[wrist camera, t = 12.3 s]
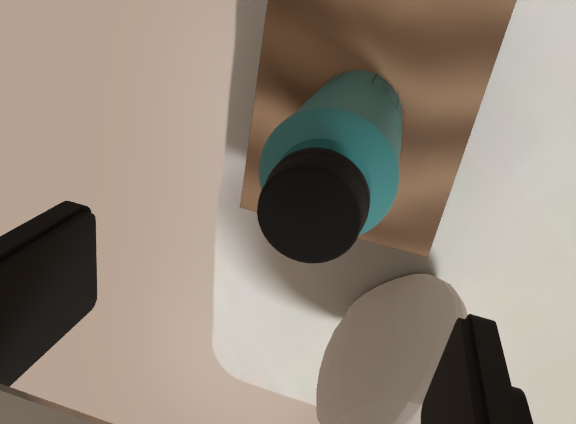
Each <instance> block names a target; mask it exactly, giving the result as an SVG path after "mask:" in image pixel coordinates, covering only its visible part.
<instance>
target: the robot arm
mask: <svg viewBox="0 0 576 424" xmlns="http://www.w3.org/2000/svg"><path fill="white" fill-rule="evenodd" d="M96 268H97V265H96V220H95V216H94V214H92V213H91V210H90V208H89V207H87V206H84V205H81V204H77V203H74V202H70V201H64V202H62V203H60V204H58V205H56V206H55V207H53V208H51V209H49V210H47V211H46V212H44V213H42V214H40V215H38V216H36V217H35V218H33V219H31V220H29V221H27V222H26V223H24V224H22V225H20V226H18V227H17V228H15V229H13V230H11V231H9V232H8V233H6V234H4V235H2V236H0V424H112V423H109V422H106V421H104V420H101V419H98V418H95V417H93V416H90V415H87V414H84V413H81V412H79V411H76V410H73V409H70V408H67V407H64V406H62V405H59V404H56V403H53V402H50V401H48V400H45V399H42V398H39V397H36V396H33V395H30V394H28V393H25V392H22V391H19V390H16V389H13V388H10V386H11V385H12V384H13V383H14V382H15V381H16V380H17V379H18V378H19V377H20V376H21V375H22V374H23V373H24V372H25V371H27V370H28V369H29V368H30V367H31V366H32V365H33V364H34V363H35V362H36V361H37V360H38V359H40V357H42V356H43V355H44V354H45V353H46V352H47V351H48V350H49V349H50V348H51V347H52V346H53V345H54V344H55V343H57V342H58V341H59V340H60V339H61V338H62V337H63V336H64V335H65V334H66V333H67V332H68V331H70V330H71V329H72V328H73V327H74V326H75V325H76V324H77V323H78V322H79V321H80V320H81V319H82V318H83V317H84V316H86V315H87V313H89V312H90V311H91V310H92V308H93V307H94V305H95V303H96V300H97V269H96ZM421 424H533V421H532V417H531V414H530V410H529V406H528V403H527V399H526V396H525V394H524V392H523V391H522V390H521V389H519V388H515V387H512V386H511V382H510V378H509V374H508V370H507V365H506V361H505V357H504V353H503V349H502V345H501V341H500V337H499V333H498V329H497V325H496V322H495V321H493V320H489V319H486V318H482V317H479V316H475V315H472V314H469V315H468V316H467V317H466V319H463V318H458V319H457V320H456V322H455V324H454V327H453V329H452V332H451V334H450V337H449V339H448V342H447V344H446V346H445V349H444V351H443V354H442V356H441V359H440V361H439V364H438V366H437V368H436V371H435V373H434V376H433V378H432V381H431V383H430V386H429V388H428V390H427V393H426V395H425V398H424V401H423V404H422V409H421Z"/></svg>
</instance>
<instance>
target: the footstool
mask: <svg viewBox="0 0 576 424" xmlns="http://www.w3.org/2000/svg"><path fill="white" fill-rule="evenodd" d="M515 3H516V0H268V5H267V12H266V19H265V27H264V34H263V41H262V49H261V56H260V64H259V71H258V78H257V86H256V93H255V100H254V108H253V115H252V123H251V130H250V137H249V145H248V152H247V159H246V167H245V174H244V182H243V189H242V196H241V204H240V208H244V209H248V210H251V211H255V212H257V205H258V199H259V196H260V193H261V186H260V181H259V162H260V156H261V153H262V150H263V147H264V145H265V143H266V141H267V139H268V138H269V136H270V134H271V133H272V132H273V131H274V129H275V128H276V127H277V126H278V125H279V124H280V123H282V122H283V121H284V120H285V119H287V118H288V117H290V116H291V115H293V113H295V112H296V111H297V110H298V109H300V108H301V106H303V104H304V103H305V102H306V101H307V100H308V99H309V98H311V97H312V96H313V95H314V94H315V93H316V92H317V91H318V90H319V89H321V88H322V87H323V86H324V85H325V84H326V82H328V80H327V79H329V80H331V79H332V78H333V77H332V78H331V76H334V75H335V74H336V75H335V76H337V75H339V73H340V71H341V73H344V72H345V71H346V70H347V69H348V70H347V71H346V72H348V71H354V70H363V71H369V72H372V73H375V74H377V73H378V75H379V76H381V77H383V78H384V79H386V80H387V81H388V82H389V83H390V84H391V85H392V86H393V85H394V86H393V88H394V89H396V92H397V94H398V91H399V95H398V96H399V98H400V101H401V105H402V103H403V105H404V106H403V105H402V110H404V113H405V114H404V113H402V128H404V129H402V131H404V132H402V135H401V150H404V151H401V150H400V151H401V152H400V154H401V155H400V157H399V185H398V191H397V194H396V198H395V201H394V203H393V205H392V207H391V209H390V210H389V212H388V213H387V215H386V216H385V217H384V218H383V219H382V221H381V222H379V223H378V224H377V225H376V226H375V227H374V228H372V229H371V230H369V231H368V232H366V233H364V234H362V235H360V236H358V238H357V239H361V240H365V241H369V242H373V243H376V244H380V245H384V246H388V247H391V248H395V249H399V250H403V251H407V252H410V253H414V254H418V255H422V256H426V257H428V255H429V252H430V249H431V246H432V243H433V240H434V237H435V234H436V231H437V229H438V226H439V223H440V220H441V217H442V214H443V211H444V208H445V205H446V203H447V200H448V197H449V194H450V191H451V188H452V185H453V182H454V179H455V177H456V174H457V171H458V168H459V165H460V162H461V159H462V156H463V154H464V151H465V148H466V145H467V142H468V139H469V136H470V133H471V130H472V128H473V125H474V122H475V119H476V116H477V113H478V110H479V107H480V104H481V102H482V99H483V96H484V93H485V90H486V87H487V84H488V81H489V78H490V76H491V73H492V70H493V67H494V64H495V61H496V58H497V55H498V52H499V50H500V47H501V44H502V41H503V38H504V35H505V32H506V29H507V26H508V24H509V21H510V18H511V15H512V12H513V9H514V6H515ZM341 73H340V74H341ZM381 74H382V75H381ZM335 76H334V77H335ZM388 79H389V80H388ZM325 81H326V82H325ZM322 83H324V84H323V85H322V87H321V86H320V85H321V84H322ZM306 97H307V98H306ZM401 97H402V98H401ZM402 101H403V102H402ZM297 107H298V108H297ZM295 110H296V111H295ZM403 116H405V125H404V120H403V119H404V117H403ZM403 141H404V142H403ZM402 145H403V146H402ZM402 147H403V149H402ZM401 160H402V161H401Z"/></svg>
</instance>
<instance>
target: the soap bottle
mask: <svg viewBox="0 0 576 424" xmlns="http://www.w3.org/2000/svg"><path fill="white" fill-rule="evenodd" d="M467 316H468V315H467V310H466V307H465V305H464V303H463V301H462V300H461V298H460V297H459V295H458V294H457V293H456V291H455V290H454V288H453V287H452V286H451V285H450V284H448V283H446V282H444V281H442V280H440V279H438V278H436V277H434V276H432V275H429V274H423V273H422V274H412V275H407V276H404V277H400V278H396V279H394V280H391V281H389V282H386V283H384V284H381V285H379V286H377V287H375V288H374V289H372V290H370V291H368V292H366V293H365V294H363V295H362V296H361V297H359V298H358V299H357V300H355V301H354V302H353V304H352V305H351V306H350V307H349V308H348V310H347V312H346V314H345V315H344V317H343V319H342V320H341V322H340V323H339V325H338V326H337V327H336V329H335V330H334V332H333V335H332V337H331V339H330V341H329V343H328V346H327V348H326V350H325V353H324V356H323V360H322V363H321V367H320V371H319V377H318V384H317V418H318V420H319V422H320V424H421V409H422V404H423V401H424V398H425V395H426V393H427V390H428V388H429V386H430V383H431V381H432V378H433V376H434V373H435V371H436V368H437V366H438V364H439V361H440V359H441V356H442V354H443V351H444V349H445V346H446V344H447V342H448V339H449V337H450V334H451V332H452V329H453V327H454V324H455V322H456V320H457V319H458V318H463V319H466V317H467Z"/></svg>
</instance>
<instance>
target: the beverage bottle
mask: <svg viewBox="0 0 576 424" xmlns="http://www.w3.org/2000/svg"><path fill="white" fill-rule="evenodd" d="M347 70H348V69H347ZM347 70H346V71H347ZM346 71H345V72H344V73H341V71H340V73H341V74H340V73H339V75H337V76H335V75H336V74H335V75H334V76H335V77H334V76H331V78H332V77H333V78H332V79H331V80H329V79H327V80H328V82H326V81H325V82H326V84H325V85H324V86H323V87H322V85H323V84H324V83H322V84H321V85H320V86H321V87H322V88H321V89H319V90H318V91H317V92H316V93H315V94H314V95H313V96H312V97H311V98H309V99H308V100H307V101H306V102H305V103H304V104H303V106H301V108H300V109H298V110H297V111H296V110H295V111H296V112H295V113H293V115H291V116H290V117H288V118H287V119H285V120H284V121H283V122H282V123H280V124H279V125H278V126H277V127H276V128H275V129H274V131H273V132H272V133H271V134H270V136H269V138H268V139H267V141H266V143H265V145H264V147H263V150H262V153H261V156H260V162H259V181H260V186H261V193H260V196H259V199H258V205H257V215H258V221H259V225H260V228H261V230H262V232H263V234H264V236H265V237H266V239H267V240H268V242H269V243H270V244H271V245H272V246H273V247H274V248H275V249H276V250H277V251H279V252H280V253H281V254H283V255H285V256H286V257H288V258H291V259H293V260H296V261H299V262H304V263H322V262H327V261H330V260H333V259H336V258H337V257H339V256H341V255H342V254H344V253H345V252H346V251H347V250H349V249H350V248H351V247H352V245H353V244H354V243H355V241H356V239H357V238H358V236H360V235H362V234H364V233H366V232H368V231H369V230H371V229H372V228H374V227H375V226H376V225H377V224H378V223H379V222H381V221H382V219H383V218H384V217H385V216H386V215H387V213H388V212H389V210H390V209H391V207H392V205H393V203H394V201H395V198H396V194H397V191H398V185H399V157H400V155H401V154H400V152H401V151H404V150H401V135H402V132H404V131H402V129H404V128H402V113H404V110H402V105H403V103H402V105H401V101H400V98H399V96H398V95H399V91H398V94H397V92H396V89H394V88H393V86H394V85H393V86H392V85H391V84H390V83H389V82H388V81H387V80H386V79H384V78H383V77H381V76H379V75H378V73H377V74H375V73H372V72H369V71H363V70H354V71H348V72H346ZM381 75H382V74H381ZM388 80H389V79H388ZM306 98H307V97H306ZM401 98H402V97H401ZM402 102H403V101H402ZM403 106H404V105H403ZM297 108H298V107H297ZM404 114H405V113H404ZM403 117H404V119H403V120H404V125H405V116H403ZM403 142H404V141H403ZM402 146H403V145H402ZM402 149H403V147H402ZM400 150H401V151H400ZM401 161H402V160H401Z"/></svg>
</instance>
